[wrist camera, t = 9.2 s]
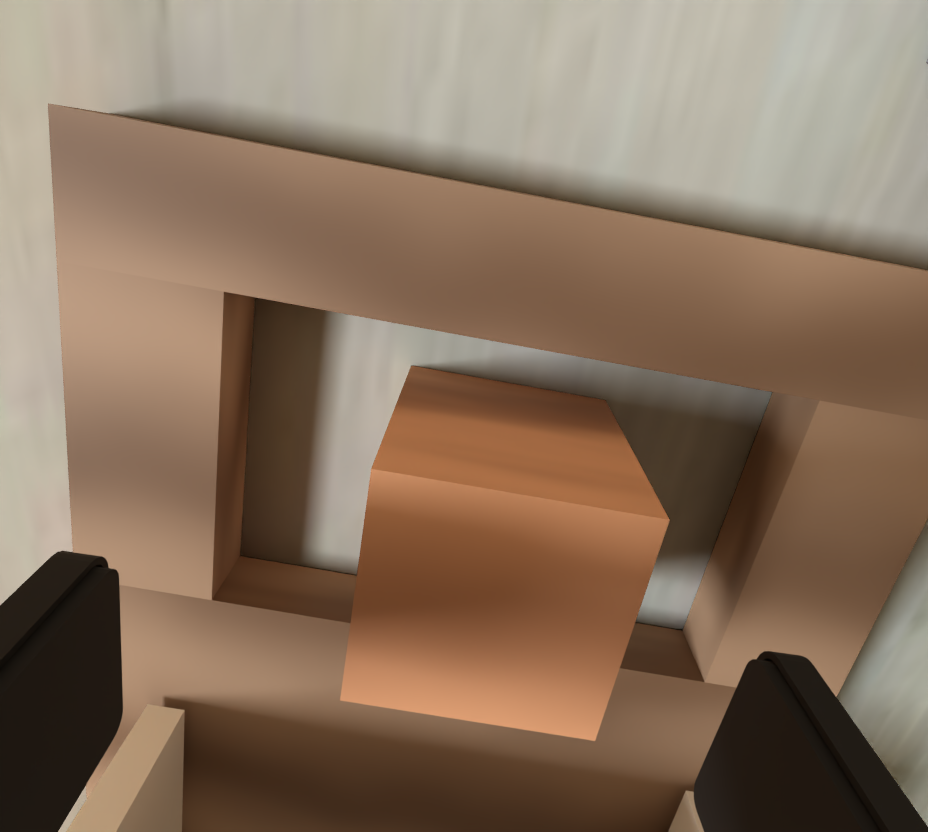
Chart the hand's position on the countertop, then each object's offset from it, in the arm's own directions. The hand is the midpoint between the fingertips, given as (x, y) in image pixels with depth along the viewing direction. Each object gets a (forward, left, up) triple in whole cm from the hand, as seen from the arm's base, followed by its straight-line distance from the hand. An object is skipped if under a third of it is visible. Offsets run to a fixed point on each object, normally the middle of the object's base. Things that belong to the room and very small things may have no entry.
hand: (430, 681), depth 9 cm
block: (-1, -1, -8) cm, 8 cm away
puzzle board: (-4, +3, -8) cm, 9 cm away
